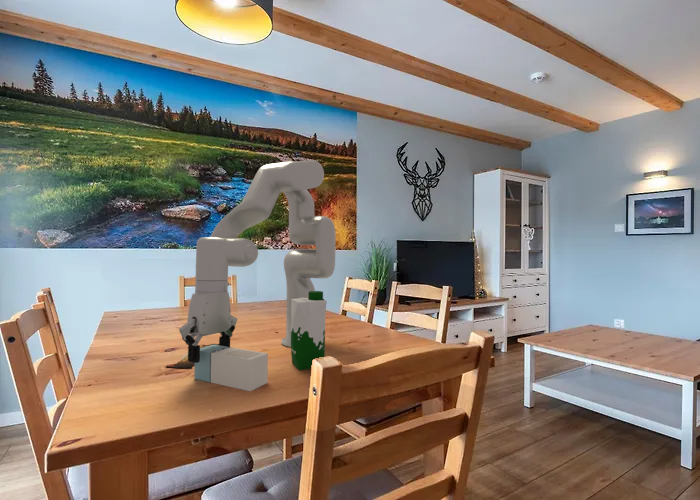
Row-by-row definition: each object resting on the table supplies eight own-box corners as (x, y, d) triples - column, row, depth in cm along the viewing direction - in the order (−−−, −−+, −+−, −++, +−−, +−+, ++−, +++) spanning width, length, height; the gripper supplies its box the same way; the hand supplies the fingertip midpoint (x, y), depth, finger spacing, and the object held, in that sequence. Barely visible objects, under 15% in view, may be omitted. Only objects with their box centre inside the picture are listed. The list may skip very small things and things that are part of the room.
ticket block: (229, 374, 94) (229, 346, 94) (267, 382, 89) (267, 352, 89) (210, 382, 89) (210, 352, 89) (250, 391, 84) (250, 359, 84)
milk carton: (328, 367, 101) (329, 293, 101) (295, 372, 97) (296, 294, 97) (318, 358, 109) (318, 289, 109) (287, 362, 105) (288, 291, 105)
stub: (213, 371, 97) (213, 344, 97) (228, 374, 95) (228, 346, 95) (194, 378, 91) (194, 349, 91) (209, 382, 89) (209, 352, 89)
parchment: (200, 345, 124) (200, 342, 124) (230, 344, 124) (230, 342, 124) (162, 370, 99) (162, 367, 99) (200, 370, 99) (200, 367, 99)
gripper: (226, 284, 102) (224, 347, 102) (170, 288, 87) (168, 363, 86) (247, 286, 99) (245, 351, 99) (194, 290, 83) (191, 368, 83)
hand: (209, 357), depth 93 cm, fingers open, 9 cm apart
